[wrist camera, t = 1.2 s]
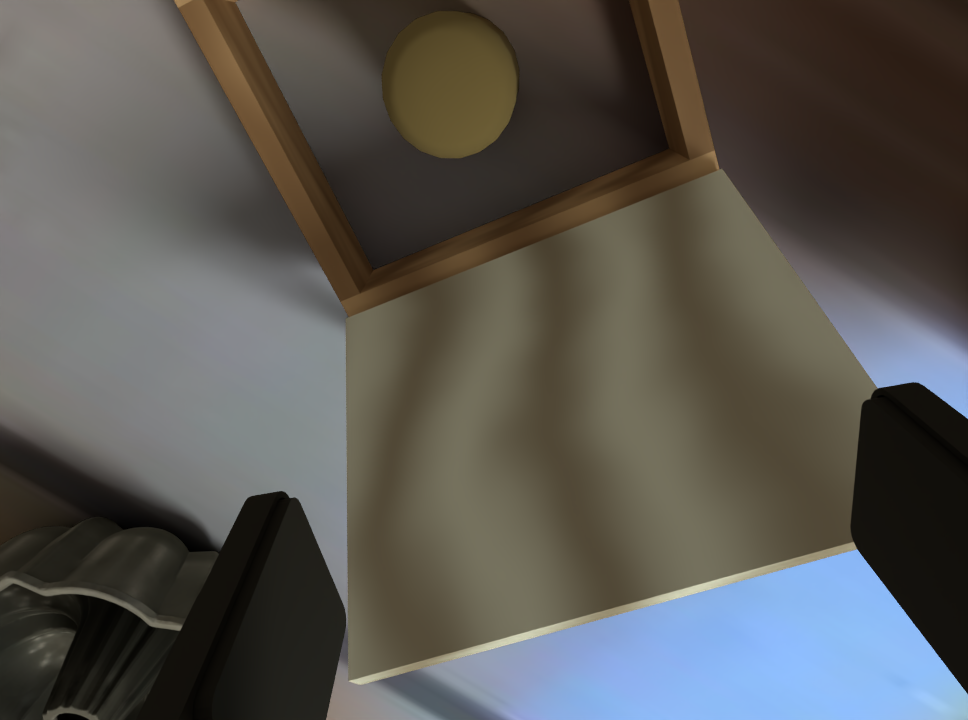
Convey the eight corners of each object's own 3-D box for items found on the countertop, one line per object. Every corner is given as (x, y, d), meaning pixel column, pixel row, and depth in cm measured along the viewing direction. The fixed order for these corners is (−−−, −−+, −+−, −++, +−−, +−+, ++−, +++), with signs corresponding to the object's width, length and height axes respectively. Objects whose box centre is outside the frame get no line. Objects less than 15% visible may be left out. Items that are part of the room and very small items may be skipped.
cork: (543, 79, 32) (565, 92, 22) (461, 163, 34) (448, 209, 24) (461, -18, 30) (444, -51, 21) (379, 77, 32) (328, 88, 22)
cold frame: (597, -226, 27) (828, -856, 8) (729, 289, 37) (966, 529, 18) (200, -13, 31) (-258, -114, 12) (420, 400, 41) (358, 693, 22)
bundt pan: (-15, 426, 42) (-151, 527, 34) (353, 545, 47) (319, 662, 38) (-33, 664, 53) (-139, 788, 45) (266, 743, 58) (224, 870, 49)
